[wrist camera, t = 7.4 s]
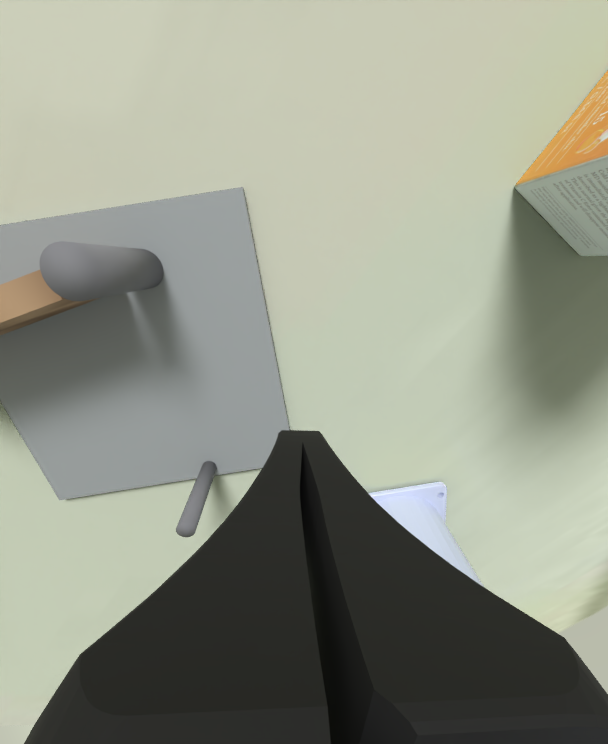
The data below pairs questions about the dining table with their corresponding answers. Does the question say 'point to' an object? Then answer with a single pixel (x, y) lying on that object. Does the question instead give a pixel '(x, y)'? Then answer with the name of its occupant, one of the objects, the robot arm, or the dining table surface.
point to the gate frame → (144, 348)
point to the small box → (575, 177)
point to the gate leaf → (30, 302)
